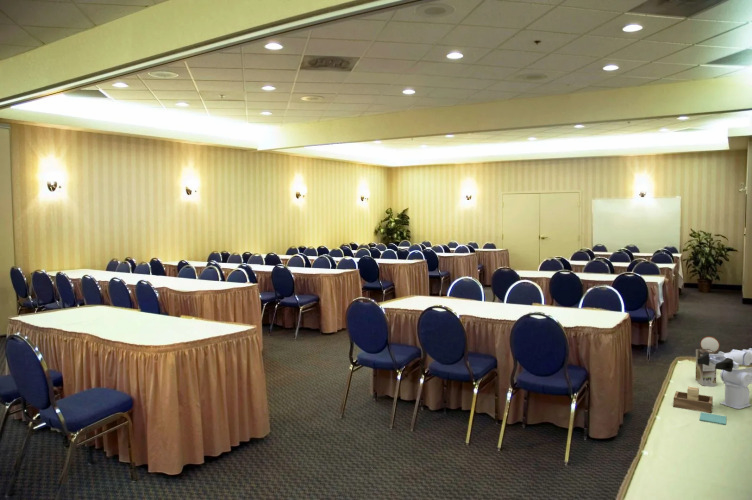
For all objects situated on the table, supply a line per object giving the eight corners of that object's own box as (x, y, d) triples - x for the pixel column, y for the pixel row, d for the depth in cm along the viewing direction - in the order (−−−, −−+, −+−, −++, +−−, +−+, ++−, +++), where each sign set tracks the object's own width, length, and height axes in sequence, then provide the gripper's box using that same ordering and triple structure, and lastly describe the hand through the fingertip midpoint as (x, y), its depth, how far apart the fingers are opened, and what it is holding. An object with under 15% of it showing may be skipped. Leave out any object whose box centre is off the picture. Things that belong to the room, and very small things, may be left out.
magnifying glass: (719, 375, 276) (720, 337, 274) (718, 376, 275) (719, 337, 273) (699, 373, 281) (700, 335, 280) (699, 373, 280) (700, 335, 278)
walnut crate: (675, 399, 244) (676, 391, 244) (712, 405, 236) (712, 396, 236) (673, 406, 236) (673, 397, 236) (711, 413, 228) (711, 403, 228)
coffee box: (716, 386, 260) (717, 353, 259) (701, 385, 262) (702, 353, 260) (709, 380, 269) (709, 348, 268) (694, 380, 270) (695, 348, 269)
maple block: (688, 399, 238) (688, 386, 238) (698, 401, 236) (698, 387, 236) (687, 402, 235) (687, 389, 235) (697, 404, 233) (698, 390, 232)
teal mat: (700, 413, 228) (700, 412, 228) (726, 417, 223) (726, 416, 223) (699, 420, 220) (699, 419, 220) (725, 425, 215) (725, 423, 215)
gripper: (711, 346, 238) (691, 349, 232) (746, 355, 225) (725, 359, 219) (710, 362, 239) (690, 365, 233) (744, 371, 226) (724, 376, 220)
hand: (707, 363), depth 226 cm, fingers open, 7 cm apart
